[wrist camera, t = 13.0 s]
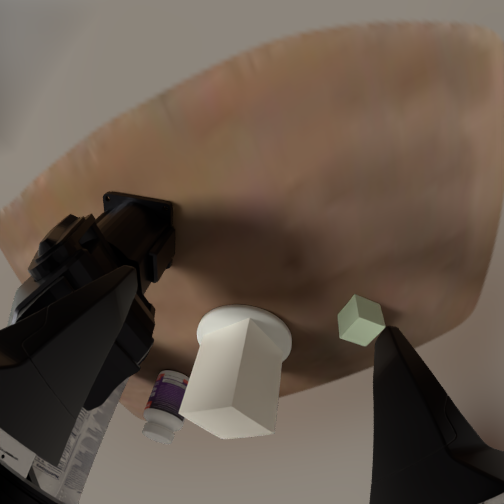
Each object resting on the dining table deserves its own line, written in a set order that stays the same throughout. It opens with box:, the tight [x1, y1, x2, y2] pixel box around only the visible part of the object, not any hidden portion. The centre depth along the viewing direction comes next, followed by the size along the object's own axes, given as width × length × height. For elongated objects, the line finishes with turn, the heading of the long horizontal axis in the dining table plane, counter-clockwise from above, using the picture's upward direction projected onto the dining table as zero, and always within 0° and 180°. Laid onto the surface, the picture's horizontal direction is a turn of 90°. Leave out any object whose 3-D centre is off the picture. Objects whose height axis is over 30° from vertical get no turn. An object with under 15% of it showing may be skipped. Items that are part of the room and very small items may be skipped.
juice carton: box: [32, 377, 129, 504], centre depth 25 cm, size 9×10×27 cm
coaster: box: [197, 304, 292, 362], centre depth 30 cm, size 10×10×1 cm
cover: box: [178, 318, 283, 439], centre depth 26 cm, size 6×6×10 cm
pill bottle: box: [142, 370, 190, 444], centre depth 34 cm, size 5×5×10 cm
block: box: [337, 294, 385, 347], centre depth 25 cm, size 3×3×3 cm
